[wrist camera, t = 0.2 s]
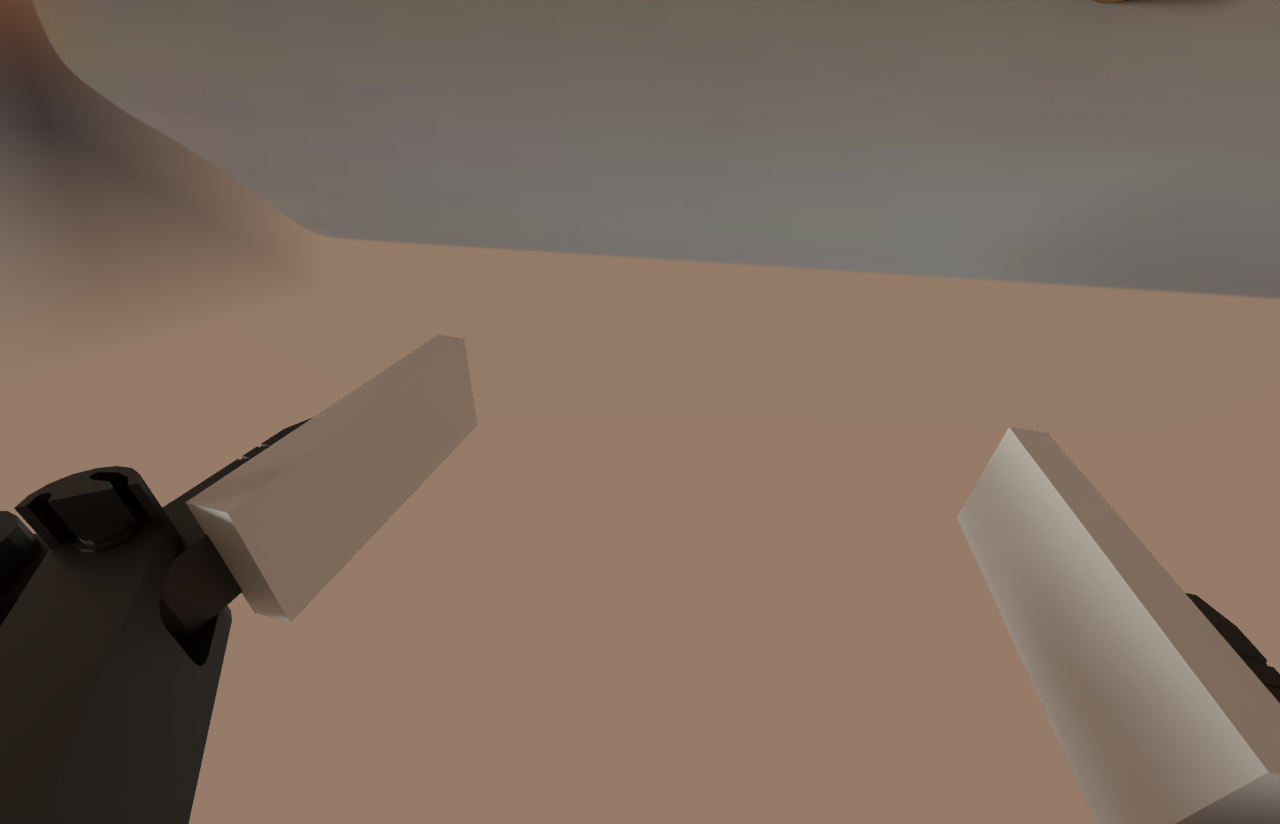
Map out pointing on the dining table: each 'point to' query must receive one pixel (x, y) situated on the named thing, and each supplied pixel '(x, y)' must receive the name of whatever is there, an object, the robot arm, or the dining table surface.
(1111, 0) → the bead
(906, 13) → the dining table surface
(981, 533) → the robot arm
